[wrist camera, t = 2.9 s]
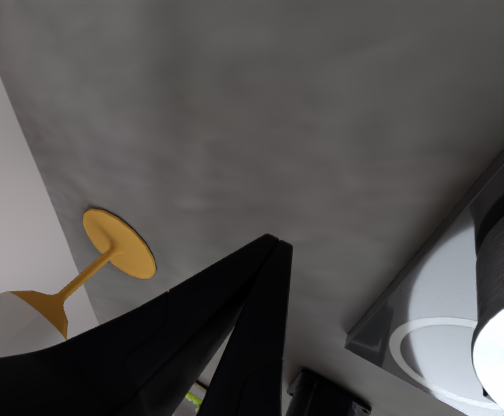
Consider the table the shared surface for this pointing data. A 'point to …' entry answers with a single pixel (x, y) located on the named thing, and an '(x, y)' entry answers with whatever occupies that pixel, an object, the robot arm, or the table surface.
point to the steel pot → (490, 316)
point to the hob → (438, 305)
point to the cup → (69, 287)
